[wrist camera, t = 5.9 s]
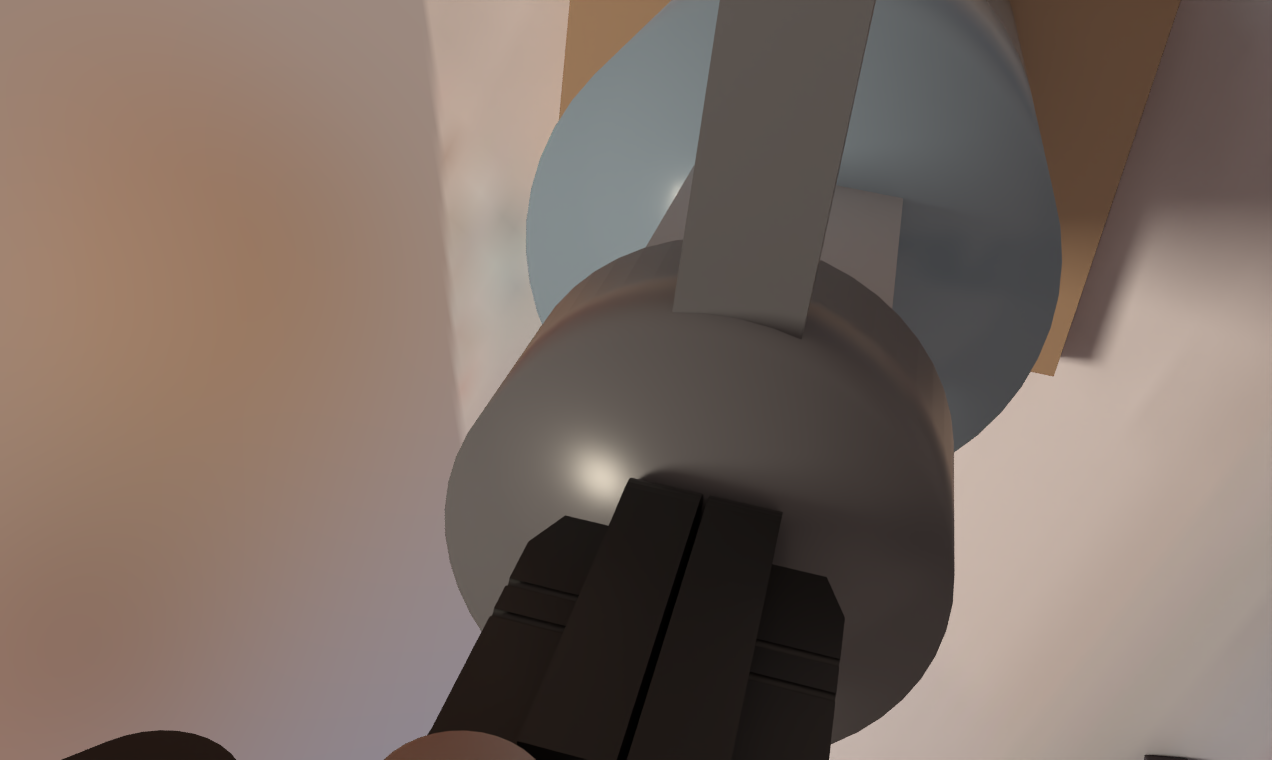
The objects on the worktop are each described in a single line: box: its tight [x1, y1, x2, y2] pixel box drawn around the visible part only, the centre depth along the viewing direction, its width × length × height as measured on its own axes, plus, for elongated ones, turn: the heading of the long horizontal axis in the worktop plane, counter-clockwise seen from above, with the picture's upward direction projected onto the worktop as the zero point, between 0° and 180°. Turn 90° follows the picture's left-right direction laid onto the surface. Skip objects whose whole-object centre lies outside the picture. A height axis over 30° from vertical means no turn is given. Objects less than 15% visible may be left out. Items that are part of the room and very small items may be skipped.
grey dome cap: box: [445, 0, 954, 744], centre depth 14 cm, size 5×8×7 cm, turn 172°
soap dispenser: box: [526, 0, 1181, 452], centre depth 22 cm, size 14×14×19 cm
